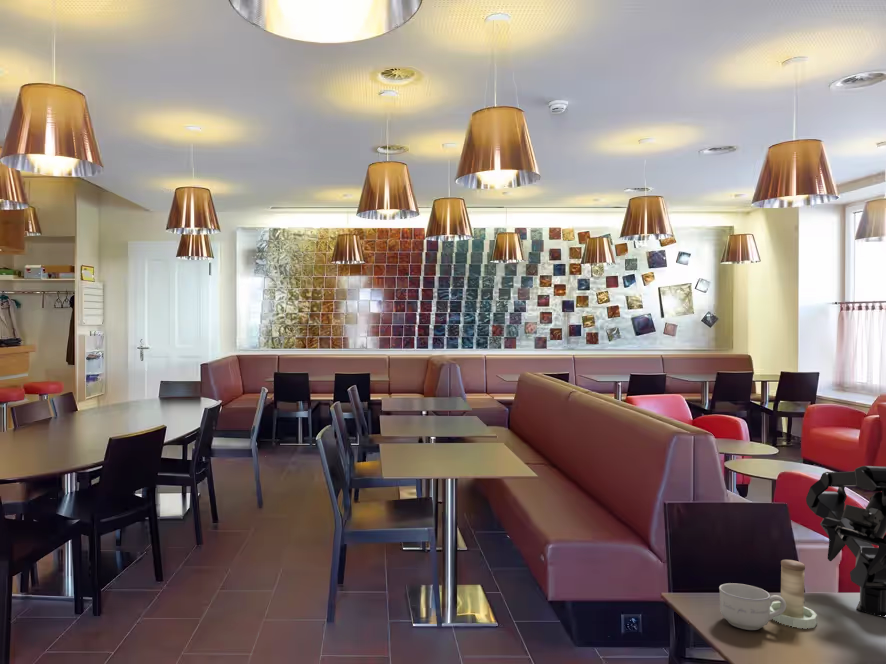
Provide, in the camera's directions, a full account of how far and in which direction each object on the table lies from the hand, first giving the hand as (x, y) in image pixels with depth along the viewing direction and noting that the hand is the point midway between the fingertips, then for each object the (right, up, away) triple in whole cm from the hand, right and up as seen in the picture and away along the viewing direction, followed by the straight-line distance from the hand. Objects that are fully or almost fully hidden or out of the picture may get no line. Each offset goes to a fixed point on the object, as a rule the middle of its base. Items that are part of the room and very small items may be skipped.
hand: (848, 566), depth 144 cm
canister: (-12, -13, +2) cm, 18 cm away
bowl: (-12, -13, +2) cm, 18 cm away
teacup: (-24, -13, -2) cm, 27 cm away
